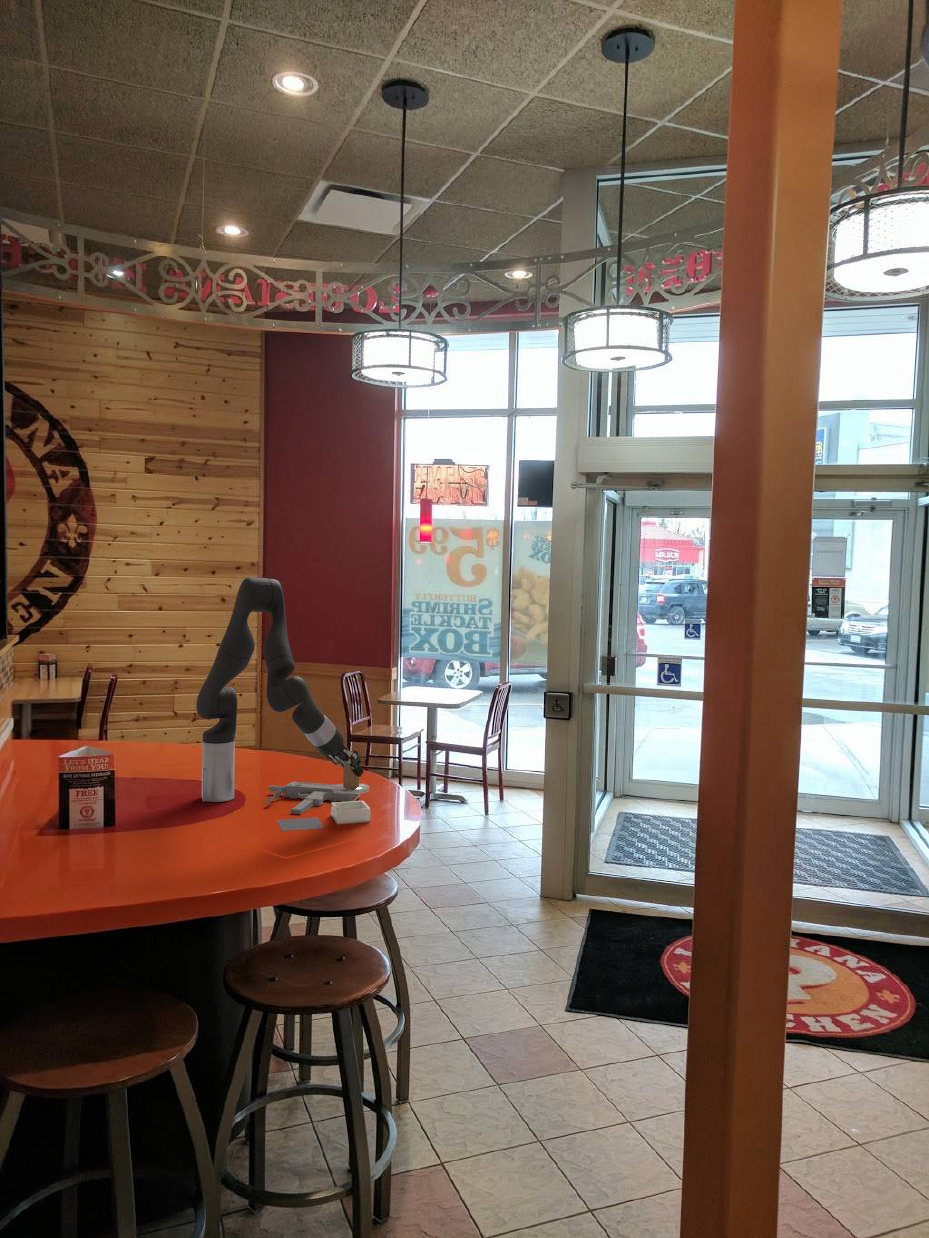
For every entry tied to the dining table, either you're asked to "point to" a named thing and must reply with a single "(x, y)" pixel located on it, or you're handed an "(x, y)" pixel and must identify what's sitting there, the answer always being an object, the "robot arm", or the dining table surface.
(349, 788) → the lid
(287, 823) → the mat
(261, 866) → the dining table surface
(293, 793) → the submachine gun
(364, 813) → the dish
